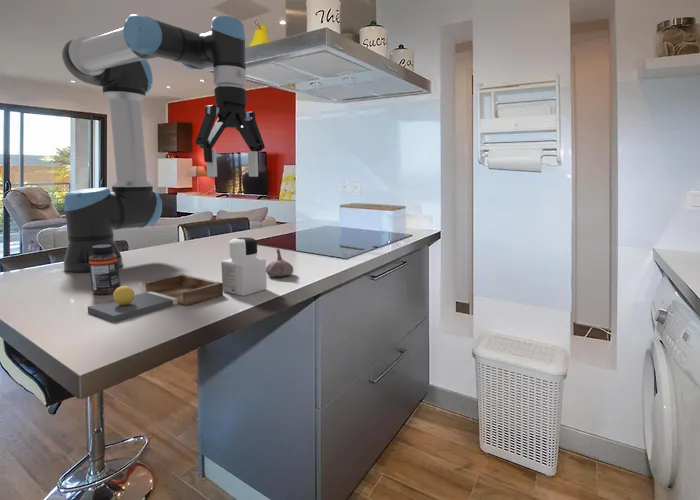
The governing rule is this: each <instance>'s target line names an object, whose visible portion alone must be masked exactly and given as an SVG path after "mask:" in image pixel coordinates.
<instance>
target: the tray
mask: <svg viewBox="0 0 700 500" xmlns="http://www.w3.org/2000/svg"><path fill="white" fill-rule="evenodd" d="M150 291H152V292H156V293H159V294H163V295H167V296H170V297H174V298H178V304H177V305H182V306H185V307H188V306H192V305H195V304H198V303H201V302H205V301H208V300H212V299H215V298H218V297H221V296H222V297H223V296H224V291H223V285H222V282H220V281H214V280H210V279H206V278H201V277H196V276H192V275H189V274H188V275H187V274H183V273H181V274H177V275H173V276H168V277H165V278H160V279H155V280H151V281H146V282H145V293H146V292H150Z"/></svg>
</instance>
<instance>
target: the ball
mask: <svg viewBox="0 0 700 500" xmlns="http://www.w3.org/2000/svg"><path fill="white" fill-rule="evenodd" d="M135 295H136V294H135V291H134V289H133V288H132V287H130V286H128V285H120V287H118V288H117V289H116V290H115V291H114V293H112V299H113V300H114V301H115V302H116V303H117V304H119V305H128V304H130V303H131V302H132V301H133V300H134V297H135Z"/></svg>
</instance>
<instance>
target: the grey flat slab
mask: <svg viewBox="0 0 700 500" xmlns="http://www.w3.org/2000/svg"><path fill="white" fill-rule="evenodd" d="M171 305H172V306H174V305H179V304H178V298H174V297H170V296H167V295H163V294H159V293H156V292H152V291H150V292H146V291H145V292H142V293H138V294H135V297H134V300H133V301H132V302H131V303H130V304H128V305H119V304H117V303H116V302H115V301H114V299H113V300H109V301H105V302H100V303H97V304H92V305H89V306H87V312H88V313H89V314H91V315H94V316H97V317H100V318H102V317H103V319H105V318H106V320H109V321H111V322H113V321H114V322H118V321H122V319H123V320H126V319H129V317H130V318H133V317H136V316H139V315H143V314H146V313H150V312H151V313H152V312H154V311H157V310H160V309H164V308H167V307H171ZM114 322H113V323H114Z"/></svg>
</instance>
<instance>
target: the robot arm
mask: <svg viewBox="0 0 700 500" xmlns="http://www.w3.org/2000/svg"><path fill="white" fill-rule="evenodd" d="M210 25H211V27H210V31H208V32H207V31H206V32H204V33H198V32H195V31H191V30H187V29H186V28H182V27H178V26H176V25H173V24H171V23H167V22H163V21H162V20H161V21H160V20H157V19H155V18H152V17H150V16H146V15H141V14H130V15H129V16H128V17H127V19H126V20H125V21H124V24H123V27H122V28H118V29H116V30H113V31H109V32H106V33H103V34H100V35H95V36H92V37H89V36H77V37H75V38H72V39H70V40H68V41H67V42H66V43H65V44H64V46H63V48H62V50H61V51H62V52H61V53H62V54H61V56H62V57H61V58H62V62H63V64H64V66H65V68H66V69H67V70H68V72H69V73H70V74H71V75H72V76H73V77H74V78H76V79H78V81H81V82H83V83H85V84H88V85H92V86H97V87H101V88H102V95H103V96H104V97H105V98H106V99H107V100H108V101H109V112H110V122H111V132H112V143H113V152H114V153H113V155H114V167H115V175H116V181H115V182H114V183H112V185H111V191H110V189H109V188H108V187H95V188H94V187H93V188H91V187H90V188H83V189H77V190H76V189H75V190H72V191H69V192H67V193H66V194H65V195H64V197H63V199H64V200H63V201H64V207H63V211H64V216H65V223H66V231H67V239H68V240H67V241H68V245H67V247H66V251H65V256H64V259H63V268H64V270H65V271H66V272H73V273H85V272H86V273H90V267H89V257H90V256H91V255H92V254H93V252H92V247H93V246H96V245H111V246H112V252H113V253H114V254H116V255H117V260H118V268H120V267H121V266H122V265H123V264H124V263H123V257H122V255H121V252H120V251H119V250H120V249H119V248H118V245H117V243H116V242H115V238H114V231H117V230H126V229H127V230H128V229H133V228H134V229H135V228H141V229H143V228H145V227H151V226H153V225H156V224H157V222H158V221H159V220H160V219H161V218H160V217H161V215H162V212H163V201H162V198H161V197H160V196H161V195H160V194H159V193H158V192H157V191H156V190H154V186H153V184H151V182H149V181H148V178H147V164H146V163H147V162H146V153H145V152H146V151H145V150H146V149H145V139H144V138H145V137H144V126H143V125H144V124H143V115H142V102H143V101H144V100H145V99H146V98H147V97H146V94H147V93H149V92H150V91H151V89H152V85H153V71H152V69H151V65H150V64H149V61H148V60H150V59H154V58H155V59H156V58H161V59H165V60H170V61H174V62H177V63H181V64H182V65H183V66H185V67H186V68H187V69H190V70H204V69H206V68H211V67H213V85H214V86H215V88H214V91H213V92H214V102H215V103H214V104H211V105H210V104H209V105H205V110H204V111H205V112H204V117H203V119H202V122H201V125H200V127H199V131H198V134H197V136H196V138H195V144H196V145H197V146H199V147H200V148H201V149H202V150H203V160H204V163H206V164H205V165H206V176H207V177H210V178H217V177H218V165H217V164H218V163H217V162H218V161H217V148H213V147H214V146H215V145H216V143H217V142H218V140H219V138H220V137H221V135H222V133H223V132H224V130H225V129H226V128H230V129H235V130H236V131H238V132H239V134H240V135H241V137H242V139H243V141H244V142H245V144H246V146H247V147H248V148H249V150H250V151H247V163H248V166H247V167H248V177H249V178H250V177H253V178H254V177H255V178H258V177H259V163H260V154H259V153H260V152H261V151H263V150H265V148H266V146H265V142H264V140H263V138H262V135H261V132H260V130H259V126H258V124H257V121H256V113H255V111H246V109H245V108H246V106H247V104H248V101H247V100H248V99H247V96H248V95H247V94H248V93H247V90H246V89H245V88H247V77H246V76H247V73H246V72H247V71H246V68H247V67H246V34H245V27H244V26H245V25H244V23H243V22H242V20H240V19H239V18H236V17H233V16H230V15H217V16H214V17H213V18H212V20H211V24H210ZM217 117H218V118H217Z"/></svg>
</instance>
